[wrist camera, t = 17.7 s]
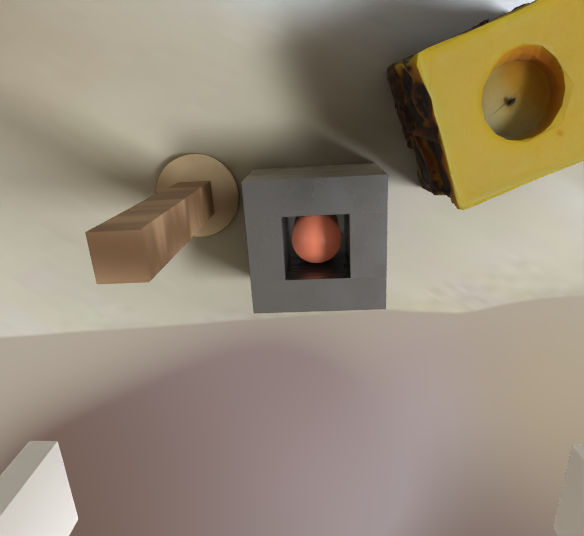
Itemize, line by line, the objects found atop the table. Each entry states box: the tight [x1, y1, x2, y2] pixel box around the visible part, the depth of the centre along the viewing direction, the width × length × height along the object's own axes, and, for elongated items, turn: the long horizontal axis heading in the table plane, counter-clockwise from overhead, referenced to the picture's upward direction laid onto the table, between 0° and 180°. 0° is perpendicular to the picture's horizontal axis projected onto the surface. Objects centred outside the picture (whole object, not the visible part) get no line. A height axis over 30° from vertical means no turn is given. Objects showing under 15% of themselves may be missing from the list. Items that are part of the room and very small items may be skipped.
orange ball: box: [292, 215, 341, 263], centre depth 36 cm, size 4×4×4 cm
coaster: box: [156, 154, 239, 237], centre depth 38 cm, size 7×7×1 cm
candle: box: [387, 0, 584, 210], centre depth 30 cm, size 10×10×10 cm
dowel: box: [85, 181, 215, 284], centre depth 30 cm, size 3×3×16 cm
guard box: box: [241, 163, 388, 313], centre depth 35 cm, size 10×10×7 cm
